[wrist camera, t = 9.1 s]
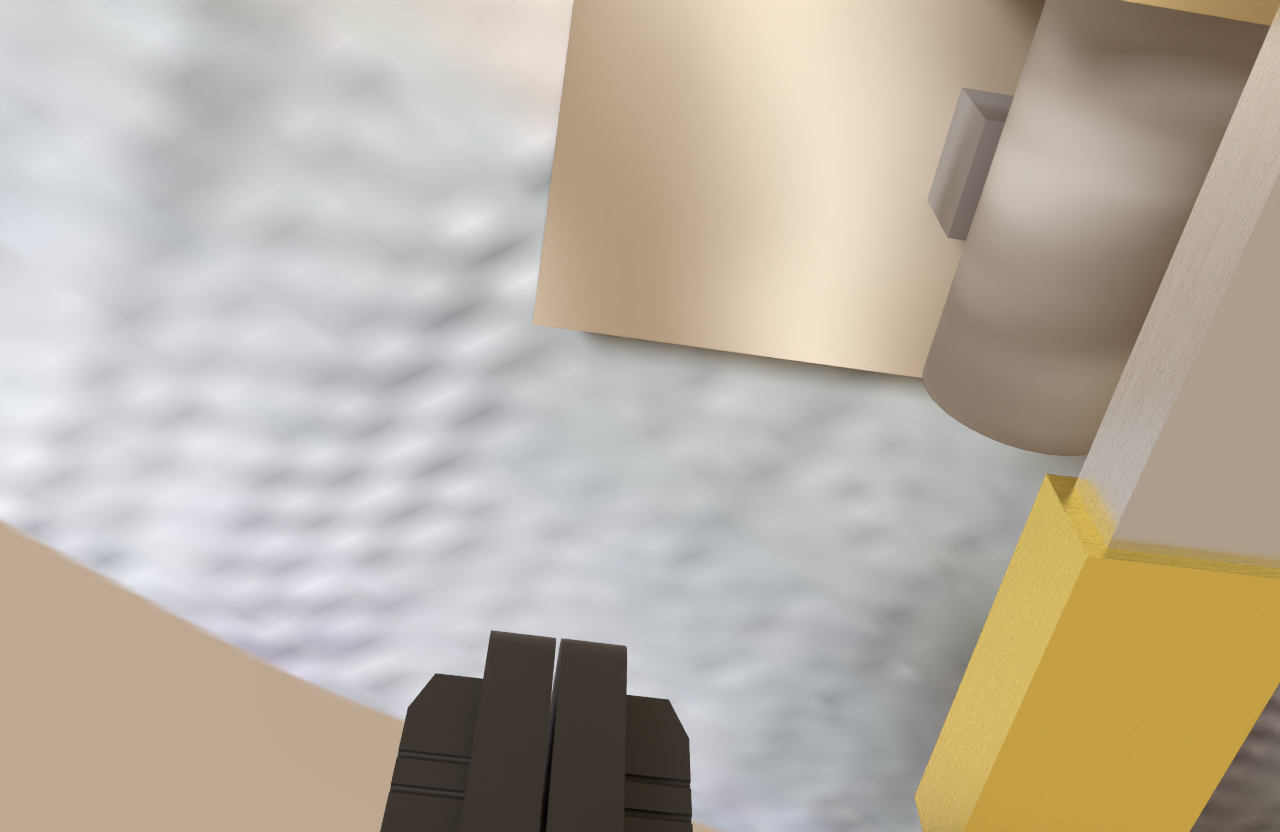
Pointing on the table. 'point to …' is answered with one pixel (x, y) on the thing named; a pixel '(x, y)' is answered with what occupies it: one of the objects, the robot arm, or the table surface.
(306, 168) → the table surface
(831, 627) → the table surface
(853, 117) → the pipe board
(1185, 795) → the valve lever
